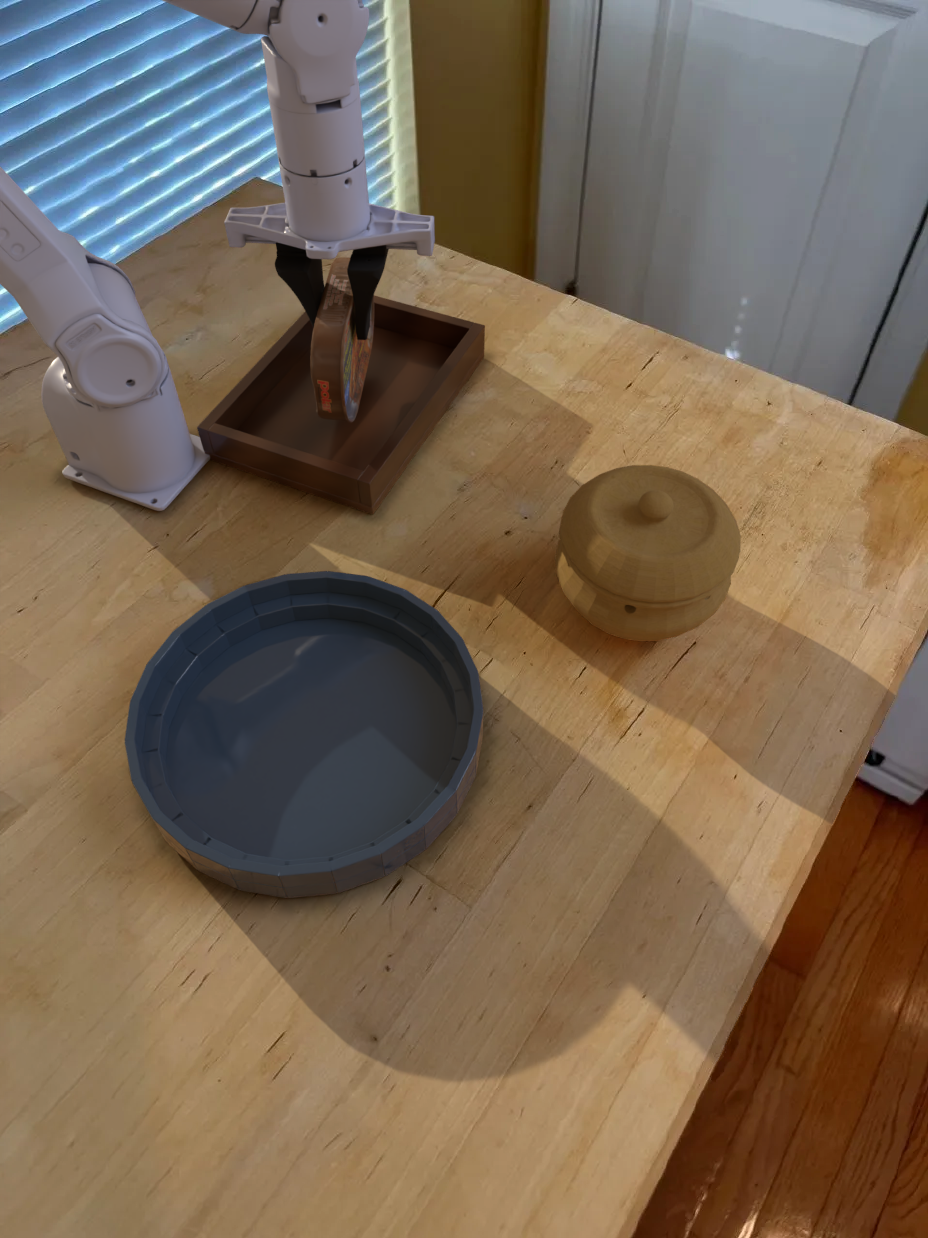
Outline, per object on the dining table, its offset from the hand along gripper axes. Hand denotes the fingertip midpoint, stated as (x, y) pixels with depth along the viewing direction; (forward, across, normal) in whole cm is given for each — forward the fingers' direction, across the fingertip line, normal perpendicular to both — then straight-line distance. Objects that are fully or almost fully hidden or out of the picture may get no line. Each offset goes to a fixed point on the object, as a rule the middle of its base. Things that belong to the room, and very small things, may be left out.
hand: (343, 331), depth 73 cm
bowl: (+7, +2, -32) cm, 33 cm away
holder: (+7, 0, 0) cm, 7 cm away
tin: (+5, 0, 0) cm, 5 cm away
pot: (+8, +23, -19) cm, 31 cm away
